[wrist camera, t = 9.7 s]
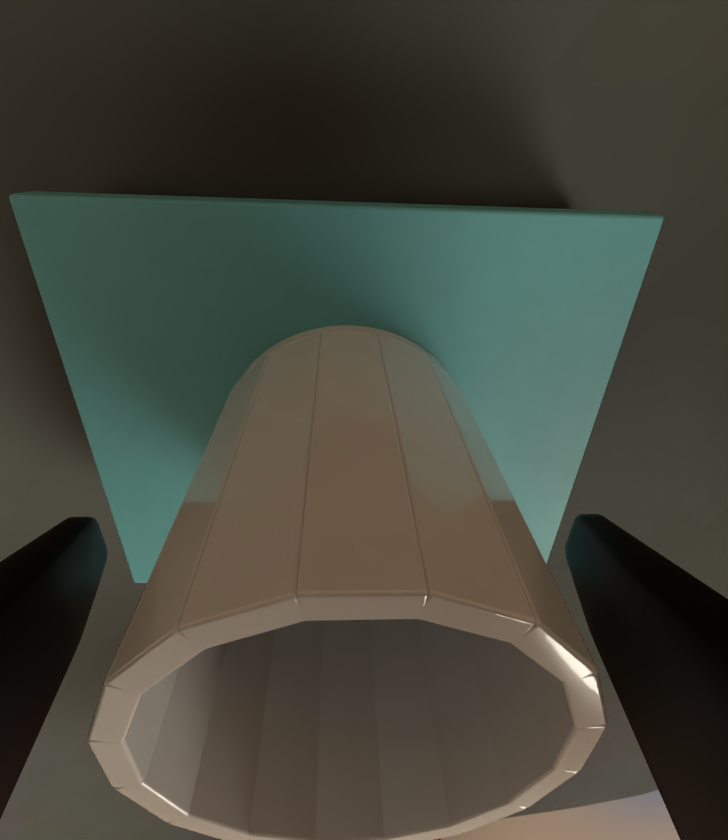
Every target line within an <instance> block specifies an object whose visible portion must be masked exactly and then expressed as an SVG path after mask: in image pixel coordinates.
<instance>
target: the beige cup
mask: <svg viewBox="0 0 728 840" xmlns="http://www.w3.org/2000/svg"><path fill="white" fill-rule="evenodd" d="M606 723H607V717H606V712H605V706H604V701H603V696H602V690H601V685H600V679H599V674H598V670H597V668H596V666H595V663H594V661H593V659H592V657H591V655H590V653H589V651H588V649H587V647H586V645H585V643H584V641H583V639H582V637H581V635H580V633H579V631H578V629H577V627H576V625H575V622H574V620H573V618H572V616H571V614H570V612H569V610H568V608H567V606H566V604H565V602H564V600H563V598H562V596H561V594H560V592H559V590H558V588H557V586H556V583H555V581H554V579H553V577H552V575H551V573H550V571H549V569H548V567H547V565H546V563H545V561H544V559H543V557H542V555H541V553H540V551H539V549H538V547H537V544H536V542H535V540H534V538H533V536H532V534H531V532H530V530H529V528H528V526H527V524H526V522H525V520H524V518H523V516H522V514H521V512H520V510H519V508H518V505H517V503H516V501H515V499H514V497H513V495H512V493H511V491H510V489H509V487H508V485H507V483H506V481H505V479H504V477H503V475H502V473H501V471H500V469H499V467H498V464H497V462H496V460H495V458H494V456H493V454H492V452H491V450H490V448H489V446H488V444H487V442H486V440H485V438H484V436H483V434H482V432H481V430H480V428H479V425H478V423H477V421H476V419H475V417H474V415H473V413H472V411H471V409H470V407H469V405H468V403H467V401H466V399H465V397H464V395H463V393H462V391H461V389H460V388H459V387H458V386H457V385H456V384H455V382H454V380H453V379H452V377H451V375H450V374H449V373H448V372H447V370H446V369H445V368H444V367H443V365H442V364H441V363H440V362H439V361H438V360H437V359H436V358H434V357H433V356H432V355H431V354H430V353H429V352H427V351H426V350H425V349H423V348H422V347H420V346H419V345H417V344H416V343H414V342H412V341H410V340H408V339H406V338H404V337H402V336H400V335H397V334H394V333H391V332H388V331H385V330H381V329H376V328H372V327H366V326H354V325H340V326H327V327H322V328H316V329H311V330H308V331H305V332H302V333H298V334H295V335H293V336H291V337H289V338H287V339H284V340H282V341H280V342H279V343H277V344H275V345H274V346H272V347H271V348H269V349H267V350H266V351H265V352H264V353H262V354H261V355H260V356H259V357H258V358H256V359H255V360H254V361H253V362H252V363H251V364H250V365H249V367H248V368H247V369H246V370H245V371H244V372H243V374H242V375H241V377H240V378H239V380H238V381H237V383H236V384H235V385H234V386H233V388H232V389H231V391H230V394H229V396H228V398H227V400H226V403H225V405H224V407H223V410H222V412H221V414H220V417H219V419H218V421H217V423H216V426H215V428H214V430H213V433H212V435H211V437H210V439H209V442H208V444H207V446H206V449H205V451H204V453H203V456H202V458H201V460H200V462H199V465H198V467H197V469H196V472H195V474H194V476H193V479H192V481H191V483H190V485H189V488H188V490H187V492H186V495H185V497H184V499H183V501H182V504H181V506H180V508H179V511H178V513H177V515H176V518H175V520H174V522H173V524H172V527H171V529H170V531H169V534H168V536H167V538H166V541H165V543H164V545H163V547H162V550H161V552H160V554H159V557H158V559H157V561H156V563H155V566H154V568H153V570H152V573H151V575H150V577H149V580H148V582H147V584H146V586H145V589H144V591H143V593H142V596H141V598H140V600H139V603H138V605H137V607H136V609H135V612H134V614H133V616H132V619H131V621H130V623H129V625H128V628H127V630H126V632H125V635H124V637H123V639H122V642H121V644H120V646H119V648H118V651H117V653H116V655H115V658H114V660H113V662H112V665H111V667H110V669H109V671H108V674H107V676H106V678H105V681H104V683H103V687H102V690H101V693H100V696H99V700H98V703H97V706H96V710H95V713H94V716H93V720H92V723H91V726H90V729H89V733H88V739H89V744H90V746H91V748H92V750H93V751H94V753H95V755H96V757H97V759H98V761H99V762H100V764H101V766H102V768H103V770H104V772H105V774H106V775H107V777H108V779H109V781H110V783H111V785H112V786H113V787H115V789H116V790H117V791H119V792H120V793H122V794H123V795H125V796H126V797H128V798H130V799H131V800H133V801H134V802H136V803H137V804H139V805H140V806H142V807H143V808H145V809H146V810H148V811H150V812H151V813H153V814H154V815H156V816H157V817H159V818H160V819H162V820H163V821H165V822H169V823H170V824H172V825H176V826H179V827H182V828H186V829H189V830H192V831H195V832H199V833H202V834H205V835H208V836H212V837H215V838H218V839H222V840H434V839H439V838H444V837H449V836H454V835H458V834H460V833H465V832H468V831H470V830H473V829H475V828H478V827H480V826H483V825H486V824H488V823H491V822H493V821H496V820H499V819H501V818H504V817H506V816H509V815H511V814H514V813H516V812H519V811H522V810H524V809H526V807H530V806H531V805H533V804H534V803H535V802H537V801H538V800H540V799H541V798H542V797H544V796H545V795H547V794H548V793H549V792H551V791H552V790H554V789H555V788H557V787H558V786H559V785H561V784H562V783H564V782H565V781H566V780H568V779H569V778H571V777H572V776H573V775H575V774H576V773H578V771H579V770H580V769H581V768H582V766H583V765H584V763H585V761H586V760H587V758H588V756H589V754H590V753H591V751H592V749H593V748H594V746H595V744H596V743H597V741H598V739H599V737H600V736H601V734H602V732H603V731H604V729H605V727H606Z"/></svg>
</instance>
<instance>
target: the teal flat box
mask: <svg viewBox="0 0 728 840" xmlns="http://www.w3.org/2000/svg"><path fill="white" fill-rule="evenodd" d="M9 199H10V202H11V205H12V209H13V212H14V215H15V218H16V221H17V224H18V227H19V230H20V233H21V236H22V239H23V242H24V245H25V248H26V252H27V255H28V258H29V261H30V264H31V267H32V270H33V273H34V276H35V279H36V282H37V285H38V288H39V292H40V295H41V298H42V301H43V304H44V307H45V310H46V313H47V316H48V319H49V322H50V325H51V328H52V332H53V335H54V338H55V341H56V344H57V347H58V350H59V353H60V356H61V359H62V362H63V365H64V368H65V371H66V375H67V378H68V381H69V384H70V387H71V390H72V393H73V396H74V399H75V402H76V405H77V408H78V411H79V415H80V418H81V421H82V424H83V427H84V430H85V433H86V436H87V439H88V442H89V445H90V448H91V451H92V454H93V458H94V461H95V464H96V467H97V470H98V473H99V476H100V479H101V482H102V485H103V488H104V491H105V494H106V498H107V501H108V504H109V507H110V510H111V513H112V516H113V519H114V522H115V525H116V528H117V531H118V534H119V537H120V541H121V544H122V547H123V550H124V553H125V556H126V559H127V562H128V565H129V568H130V571H131V574H132V577H133V581H134V582H135V583H147V582H148V580H149V577H150V575H151V573H152V570H153V568H154V566H155V563H156V561H157V559H158V557H159V554H160V552H161V550H162V547H163V545H164V543H165V541H166V538H167V536H168V534H169V531H170V529H171V527H172V524H173V522H174V520H175V518H176V515H177V513H178V511H179V508H180V506H181V504H182V501H183V499H184V497H185V495H186V492H187V490H188V488H189V485H190V483H191V481H192V479H193V476H194V474H195V472H196V469H197V467H198V465H199V462H200V460H201V458H202V456H203V453H204V451H205V449H206V446H207V444H208V442H209V439H210V437H211V435H212V433H213V430H214V428H215V426H216V423H217V421H218V419H219V417H220V414H221V412H222V410H223V407H224V405H225V403H226V400H227V398H228V396H229V394H230V391H231V389H232V388H233V386H234V385H235V384H236V383H237V381H238V380H239V378H240V377H241V375H242V374H243V372H244V371H245V370H246V369H247V368H248V367H249V365H250V364H251V363H252V362H253V361H254V360H255V359H256V358H258V357H259V356H260V355H261V354H262V353H264V352H265V351H266V350H267V349H269V348H271V347H272V346H274V345H275V344H277V343H279V342H280V341H282V340H284V339H287V338H289V337H291V336H293V335H295V334H298V333H302V332H305V331H308V330H311V329H316V328H322V327H327V326H340V325H354V326H366V327H372V328H376V329H381V330H385V331H388V332H391V333H394V334H397V335H400V336H402V337H404V338H406V339H408V340H410V341H412V342H414V343H416V344H417V345H419V346H420V347H422V348H423V349H425V350H426V351H427V352H429V353H430V354H431V355H432V356H433V357H434V358H436V359H437V360H438V361H439V362H440V363H441V364H442V365H443V367H444V368H445V369H446V370H447V372H448V373H449V374H450V375H451V377H452V379H453V380H454V382H455V384H456V385H457V386H458V387H459V388H460V389H461V391H462V393H463V395H464V397H465V399H466V401H467V403H468V405H469V407H470V409H471V411H472V413H473V415H474V417H475V419H476V421H477V423H478V425H479V428H480V430H481V432H482V434H483V436H484V438H485V440H486V442H487V444H488V446H489V448H490V450H491V452H492V454H493V456H494V458H495V460H496V462H497V464H498V467H499V469H500V471H501V473H502V475H503V477H504V479H505V481H506V483H507V485H508V487H509V489H510V491H511V493H512V495H513V497H514V499H515V501H516V503H517V505H518V508H519V510H520V512H521V514H522V516H523V518H524V520H525V522H526V524H527V526H528V528H529V530H530V532H531V534H532V536H533V538H534V540H535V542H536V544H537V547H538V549H539V551H540V553H541V555H542V557H543V559H544V561H545V563H547V560H548V557H549V554H550V551H551V548H552V545H553V542H554V540H555V537H556V534H557V531H558V528H559V525H560V522H561V519H562V516H563V513H564V510H565V507H566V504H567V501H568V498H569V495H570V493H571V490H572V487H573V484H574V481H575V478H576V475H577V472H578V469H579V466H580V463H581V460H582V457H583V454H584V451H585V448H586V446H587V443H588V440H589V437H590V434H591V431H592V428H593V425H594V422H595V419H596V416H597V413H598V410H599V407H600V404H601V401H602V398H603V396H604V393H605V390H606V387H607V384H608V381H609V378H610V375H611V372H612V369H613V366H614V363H615V360H616V357H617V354H618V351H619V349H620V346H621V343H622V340H623V337H624V334H625V331H626V328H627V325H628V322H629V319H630V316H631V313H632V310H633V307H634V304H635V302H636V299H637V296H638V293H639V290H640V287H641V284H642V281H643V278H644V275H645V272H646V269H647V266H648V263H649V260H650V257H651V254H652V252H653V249H654V246H655V243H656V240H657V237H658V234H659V231H660V228H661V225H662V222H663V216H661V215H658V214H654V213H649V212H644V211H614V210H584V209H555V208H525V207H495V206H465V205H435V204H405V203H375V202H346V201H316V200H286V199H256V198H226V197H196V196H166V195H137V194H107V193H77V192H47V191H26V192H20V193H14V194H11V195H10V196H9Z"/></svg>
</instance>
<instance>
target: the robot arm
mask: <svg viewBox="0 0 728 840" xmlns="http://www.w3.org/2000/svg"><path fill="white" fill-rule="evenodd" d="M565 554H566V559H567V562H568V565H569V568H570V571H571V574H572V577H573V581H574V584H575V587H576V590H577V593H578V596H579V599H580V603H581V606H582V609H583V612H584V615H585V618H586V621H587V624H588V627H589V630H590V633H591V635H592V637H593V640H594V642H595V645H596V647H597V649H598V652H599V654H600V656H601V658H602V661H603V663H604V665H605V668H606V670H607V672H608V675H609V677H610V679H611V681H612V684H613V686H614V688H615V691H616V693H617V695H618V697H619V700H620V702H621V704H622V707H623V709H624V711H625V714H626V716H627V718H628V720H629V723H630V725H631V727H632V730H633V732H634V734H635V737H636V739H637V741H638V743H639V746H640V748H641V750H642V753H643V755H644V757H645V759H646V762H647V764H648V766H649V769H650V771H651V773H652V776H653V778H654V780H655V782H656V785H657V787H658V789H659V792H660V794H661V796H662V798H663V801H664V803H665V805H666V808H667V810H668V812H669V814H670V817H671V819H672V821H673V824H674V826H675V828H676V830H677V833H678V835H679V837H680V839H681V840H728V599H727V598H725V597H724V596H722V595H721V594H719V593H718V592H716V591H715V590H713V589H712V588H710V587H709V586H707V585H706V584H704V583H703V582H701V581H700V580H698V579H697V578H695V577H694V576H692V575H691V574H689V573H688V572H686V571H685V570H683V569H682V568H680V567H679V566H677V565H676V564H674V563H673V562H671V561H670V560H668V559H667V558H665V557H664V556H662V555H661V554H659V553H658V552H656V551H655V550H653V549H652V548H650V547H648V546H647V545H645V544H644V543H642V542H641V541H639V540H638V539H636V538H635V537H633V536H632V535H630V534H629V533H627V532H626V531H624V530H623V529H621V528H620V527H618V526H617V525H615V524H614V523H612V522H611V521H609V520H608V519H606V518H605V517H603V516H602V515H599V514H580V515H578V516H577V517H576V518H575V520H574V522H573V525H572V528H571V531H570V533H569V536H568V539H567V542H566V545H565ZM106 561H107V548H106V545H105V542H104V539H103V536H102V533H101V530H100V527H99V525H98V522H97V520H96V519H95V518H93V517H70V518H67V519H66V520H64V521H62V522H61V523H59V524H58V525H56V526H55V527H53V528H52V529H50V530H49V531H47V532H46V533H44V534H42V535H41V536H39V537H38V538H36V539H35V540H33V541H32V542H30V543H29V544H27V545H26V546H24V547H22V548H21V549H19V550H18V551H16V552H15V553H13V554H12V555H10V556H9V557H7V558H6V559H4V560H2V561H1V562H0V818H1V816H2V814H3V812H4V809H5V807H6V805H7V803H8V801H9V798H10V796H11V794H12V792H13V789H14V787H15V785H16V783H17V781H18V778H19V776H20V774H21V772H22V769H23V767H24V765H25V763H26V761H27V758H28V756H29V754H30V752H31V749H32V747H33V745H34V743H35V741H36V738H37V736H38V734H39V732H40V730H41V727H42V725H43V723H44V721H45V718H46V716H47V714H48V712H49V710H50V707H51V705H52V703H53V701H54V698H55V696H56V694H57V692H58V690H59V687H60V685H61V683H62V681H63V678H64V676H65V674H66V672H67V670H68V667H69V665H70V663H71V661H72V658H73V656H74V654H75V652H76V649H77V647H78V644H79V642H80V639H81V637H82V634H83V631H84V628H85V625H86V622H87V619H88V616H89V613H90V610H91V607H92V604H93V601H94V598H95V595H96V592H97V589H98V586H99V582H100V579H101V576H102V573H103V570H104V567H105V564H106Z"/></svg>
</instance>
